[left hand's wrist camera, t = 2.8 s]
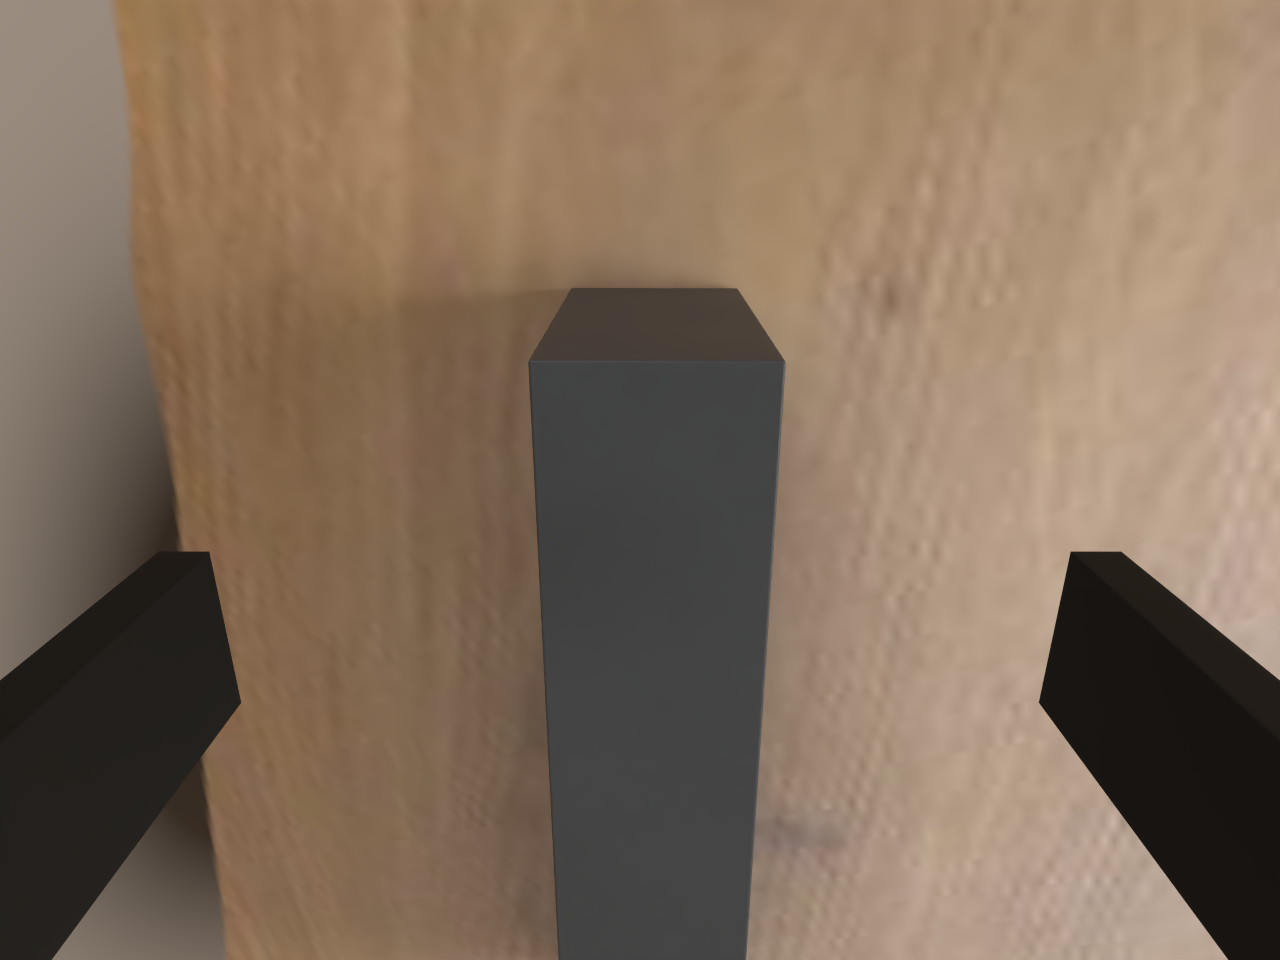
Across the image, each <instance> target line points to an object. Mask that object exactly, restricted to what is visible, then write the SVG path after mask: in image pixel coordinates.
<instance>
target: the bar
mask: <svg viewBox="0 0 1280 960" xmlns="http://www.w3.org/2000/svg"><path fill="white" fill-rule="evenodd" d="M528 363H529V383H530V402H531V422H532V442H533V461H534V481H535V501H536V520H537V540H538V560H539V580H540V599H541V619H542V639H543V658H544V678H545V698H546V717H547V737H548V757H549V776H550V796H551V816H552V836H553V855H554V875H555V895H556V914H557V934H558V954H559V960H746V952H747V937H748V922H749V907H750V892H751V876H752V861H753V846H754V831H755V816H756V801H757V786H758V771H759V756H760V741H761V726H762V711H763V696H764V681H765V666H766V651H767V636H768V621H769V606H770V591H771V576H772V561H773V546H774V531H775V516H776V501H777V486H778V471H779V456H780V441H781V426H782V411H783V396H784V380H785V365H786V363H785V360H784V359H783V357H782V356H781V354H780V353H779V351H778V350H777V348H776V347H775V345H774V344H773V342H772V341H771V339H770V338H769V336H768V335H767V333H766V332H765V330H764V329H763V327H762V325H761V324H760V322H759V321H758V319H757V318H756V316H755V315H754V313H753V312H752V310H751V309H750V307H749V306H748V304H747V303H746V301H745V300H744V298H743V297H742V295H741V294H740V292H739V291H738V289H645V288H572V289H571V290H570V292H569V294H568V295H567V297H566V299H565V301H564V302H563V304H562V306H561V307H560V309H559V311H558V312H557V314H556V316H555V318H554V319H553V321H552V323H551V324H550V326H549V328H548V329H547V331H546V333H545V334H544V336H543V338H542V340H541V341H540V343H539V345H538V346H537V348H536V350H535V351H534V353H533V355H532V357H531V358H530V360H529V362H528Z"/></svg>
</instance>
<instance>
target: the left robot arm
mask: <svg viewBox="0 0 1280 960" xmlns="http://www.w3.org/2000/svg"><path fill="white" fill-rule="evenodd" d="M240 703H241V700H240V695H239V690H238V686H237V681H236V676H235V671H234V667H233V662H232V657H231V653H230V648H229V643H228V638H227V634H226V629H225V624H224V619H223V615H222V610H221V605H220V601H219V596H218V591H217V586H216V582H215V577H214V572H213V567H212V563H211V558H210V553H209V552H158V553H157V554H155V555H154V556H153V557H152V558H151V559H149V560H148V561H147V562H146V563H144V564H143V565H142V566H141V567H139V568H138V569H137V570H136V571H135V572H133V573H132V574H131V575H130V576H128V577H127V578H126V579H125V580H123V581H122V582H121V583H120V584H118V585H117V586H116V587H115V588H114V589H112V590H111V591H110V592H109V593H107V594H106V595H105V596H104V597H103V598H101V599H100V600H99V601H98V602H96V603H95V604H94V605H93V606H91V607H90V608H89V609H88V610H86V611H85V612H84V613H83V614H82V615H80V616H79V617H78V618H77V619H75V620H74V621H73V622H72V623H71V624H69V625H68V626H67V627H66V628H64V629H63V630H62V631H61V632H59V633H58V634H57V635H56V636H54V637H53V638H52V639H51V640H49V641H48V642H47V643H46V644H45V645H43V646H42V647H41V648H40V649H38V650H37V651H36V652H35V653H33V654H32V655H31V656H30V657H29V658H27V659H26V660H25V661H24V662H22V663H21V664H20V665H19V666H17V667H16V668H15V669H14V670H13V671H11V672H10V673H9V674H8V675H6V676H5V677H4V678H3V679H1V680H0V960H52V959H53V957H54V956H55V954H56V953H57V952H58V950H59V949H60V948H61V946H62V945H63V944H64V942H65V941H66V940H67V938H68V937H69V935H70V934H71V933H72V931H73V930H74V929H75V927H76V926H77V925H78V923H79V922H80V921H81V919H82V918H83V916H84V915H85V914H86V912H87V911H88V910H89V908H90V907H91V906H92V904H93V903H94V901H95V900H96V899H97V897H98V896H99V895H100V893H101V892H102V891H103V889H104V888H105V887H106V885H107V884H108V882H109V881H110V880H111V878H112V877H113V876H114V874H115V873H116V872H117V870H118V869H119V868H120V866H121V865H122V863H123V862H124V861H125V859H126V858H127V857H128V855H129V854H130V853H131V851H132V850H133V849H134V847H135V846H136V845H137V843H138V842H139V840H140V839H141V838H142V836H143V835H144V834H145V832H146V831H147V830H148V828H149V827H150V826H151V824H152V823H153V821H154V820H155V819H156V817H157V816H158V815H159V813H160V812H161V811H162V809H163V808H164V807H165V805H166V804H167V802H168V801H169V800H170V798H171V797H172V796H173V794H174V793H175V792H176V790H177V789H178V788H179V786H180V785H181V783H182V782H183V781H184V779H185V778H186V777H187V775H188V774H189V773H190V771H191V770H192V769H193V767H194V766H195V764H196V763H197V762H198V760H199V759H200V758H201V756H202V755H203V754H204V752H205V751H206V750H207V748H208V747H209V745H210V744H211V743H212V741H213V740H214V739H215V737H216V736H217V735H218V733H219V732H220V731H221V729H222V728H223V726H224V725H225V724H226V722H227V721H228V720H229V718H230V717H231V716H232V714H233V713H234V712H235V710H236V709H237V707H238V706H239V705H240ZM1039 703H1040V705H1041V706H1042V707H1043V709H1044V710H1045V712H1046V713H1047V714H1048V716H1049V717H1050V718H1051V720H1052V721H1053V722H1054V724H1055V725H1056V726H1057V728H1058V729H1059V731H1060V732H1061V733H1062V735H1063V736H1064V737H1065V739H1066V740H1067V741H1068V743H1069V744H1070V745H1071V747H1072V748H1073V750H1074V751H1075V752H1076V754H1077V755H1078V756H1079V758H1080V759H1081V760H1082V762H1083V763H1084V764H1085V766H1086V767H1087V769H1088V770H1089V771H1090V773H1091V774H1092V775H1093V777H1094V778H1095V779H1096V781H1097V782H1098V783H1099V785H1100V786H1101V788H1102V789H1103V790H1104V792H1105V793H1106V794H1107V796H1108V797H1109V798H1110V800H1111V801H1112V802H1113V804H1114V805H1115V807H1116V808H1117V809H1118V811H1119V812H1120V813H1121V815H1122V816H1123V817H1124V819H1125V820H1126V821H1127V823H1128V824H1129V826H1130V827H1131V828H1132V830H1133V831H1134V832H1135V834H1136V835H1137V836H1138V838H1139V839H1140V840H1141V842H1142V843H1143V845H1144V846H1145V847H1146V849H1147V850H1148V851H1149V853H1150V854H1151V855H1152V857H1153V858H1154V859H1155V861H1156V862H1157V864H1158V865H1159V866H1160V868H1161V869H1162V870H1163V872H1164V873H1165V874H1166V876H1167V877H1168V878H1169V880H1170V881H1171V883H1172V884H1173V885H1174V887H1175V888H1176V889H1177V891H1178V892H1179V893H1180V895H1181V896H1182V897H1183V899H1184V900H1185V902H1186V903H1187V904H1188V906H1189V907H1190V908H1191V910H1192V911H1193V912H1194V914H1195V915H1196V916H1197V918H1198V919H1199V921H1200V922H1201V923H1202V925H1203V926H1204V927H1205V929H1206V930H1207V931H1208V933H1209V934H1210V935H1211V937H1212V938H1213V940H1214V941H1215V942H1216V944H1217V945H1218V946H1219V948H1220V949H1221V950H1222V952H1223V953H1224V954H1225V956H1226V957H1227V959H1228V960H1280V680H1279V679H1277V678H1276V677H1275V676H1274V675H1272V674H1271V673H1270V672H1269V671H1267V670H1266V669H1265V668H1264V667H1263V666H1261V665H1260V664H1259V663H1258V662H1256V661H1255V660H1254V659H1253V658H1251V657H1250V656H1249V655H1248V654H1247V653H1245V652H1244V651H1243V650H1242V649H1240V648H1239V647H1238V646H1237V645H1235V644H1234V643H1233V642H1232V641H1231V640H1229V639H1228V638H1227V637H1226V636H1224V635H1223V634H1222V633H1221V632H1219V631H1218V630H1217V629H1216V628H1214V627H1213V626H1212V625H1211V624H1210V623H1208V622H1207V621H1206V620H1205V619H1203V618H1202V617H1201V616H1200V615H1198V614H1197V613H1196V612H1195V611H1194V610H1192V609H1191V608H1190V607H1189V606H1187V605H1186V604H1185V603H1184V602H1182V601H1181V600H1180V599H1179V598H1178V597H1176V596H1175V595H1174V594H1173V593H1171V592H1170V591H1169V590H1168V589H1166V588H1165V587H1164V586H1163V585H1162V584H1160V583H1159V582H1158V581H1157V580H1155V579H1154V578H1153V577H1152V576H1150V575H1149V574H1148V573H1147V572H1146V571H1144V570H1143V569H1142V568H1141V567H1139V566H1138V565H1137V564H1136V563H1134V562H1133V561H1132V560H1131V559H1129V558H1128V557H1127V556H1126V555H1125V554H1123V553H1122V552H1071V553H1070V558H1069V563H1068V567H1067V572H1066V577H1065V582H1064V586H1063V591H1062V596H1061V601H1060V605H1059V610H1058V615H1057V619H1056V624H1055V629H1054V634H1053V638H1052V643H1051V648H1050V653H1049V657H1048V662H1047V667H1046V671H1045V676H1044V681H1043V686H1042V690H1041V695H1040V700H1039Z"/></svg>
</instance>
